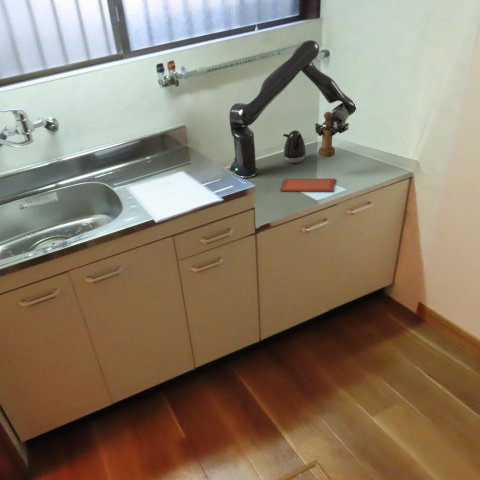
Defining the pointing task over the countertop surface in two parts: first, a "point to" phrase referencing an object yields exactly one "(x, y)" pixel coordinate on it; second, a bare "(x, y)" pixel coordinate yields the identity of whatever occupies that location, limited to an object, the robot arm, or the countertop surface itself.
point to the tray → (308, 185)
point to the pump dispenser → (294, 147)
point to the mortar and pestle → (327, 138)
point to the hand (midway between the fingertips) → (325, 133)
